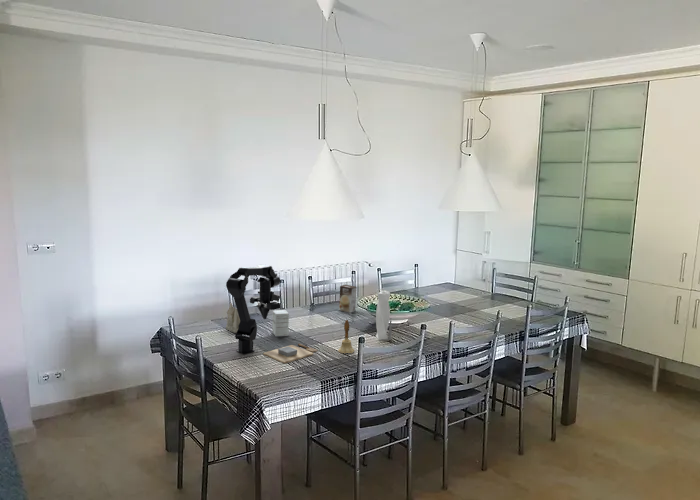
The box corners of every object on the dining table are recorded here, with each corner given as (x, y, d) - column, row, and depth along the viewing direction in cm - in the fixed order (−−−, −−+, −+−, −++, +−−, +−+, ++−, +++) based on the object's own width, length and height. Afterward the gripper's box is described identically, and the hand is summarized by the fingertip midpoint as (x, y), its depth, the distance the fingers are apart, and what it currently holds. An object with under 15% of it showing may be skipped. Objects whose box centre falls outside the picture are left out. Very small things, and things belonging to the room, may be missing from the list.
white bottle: (377, 341, 284) (379, 290, 279) (372, 337, 292) (374, 287, 287) (391, 341, 286) (394, 290, 282) (386, 336, 294) (389, 286, 289)
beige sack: (235, 334, 287) (236, 306, 285) (220, 327, 299) (222, 301, 298) (260, 331, 297) (261, 304, 296) (245, 324, 309) (246, 299, 308)
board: (284, 363, 247) (284, 361, 247) (263, 354, 258) (263, 352, 258) (313, 354, 260) (313, 353, 260) (291, 346, 271) (291, 344, 271)
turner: (312, 352, 263) (312, 350, 263) (296, 345, 272) (296, 344, 272) (317, 350, 266) (317, 349, 266) (300, 344, 274) (300, 342, 274)
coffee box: (338, 310, 342) (339, 285, 339) (343, 308, 347) (344, 284, 344) (350, 312, 337) (351, 288, 334) (355, 310, 342) (356, 286, 340)
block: (278, 353, 258) (287, 357, 253) (278, 348, 258) (287, 352, 253) (287, 350, 263) (297, 354, 258) (287, 346, 262) (297, 349, 257)
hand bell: (340, 354, 262) (341, 323, 260) (336, 348, 270) (337, 318, 267) (356, 353, 264) (357, 322, 262) (351, 347, 272) (353, 317, 270)
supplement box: (272, 332, 292) (272, 310, 290) (285, 331, 294) (285, 309, 292) (275, 336, 285) (275, 313, 283) (288, 335, 288) (289, 313, 286)
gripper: (289, 290, 272) (288, 320, 274) (266, 284, 285) (266, 312, 287) (271, 293, 264) (271, 324, 266) (249, 287, 277) (249, 316, 279)
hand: (264, 319), depth 275 cm, fingers closed
